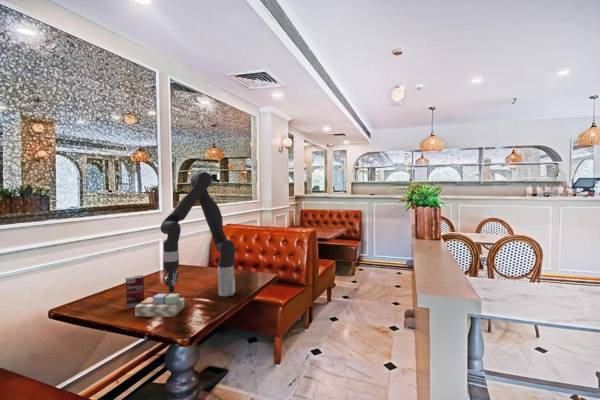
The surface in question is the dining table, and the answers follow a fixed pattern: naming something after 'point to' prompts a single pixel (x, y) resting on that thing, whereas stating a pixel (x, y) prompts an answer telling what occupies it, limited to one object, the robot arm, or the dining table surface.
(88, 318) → the dining table surface
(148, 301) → the tile terracotta
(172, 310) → the tile board
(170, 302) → the tile sage
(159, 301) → the pale blue cube
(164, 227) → the robot arm
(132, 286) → the supplement box
